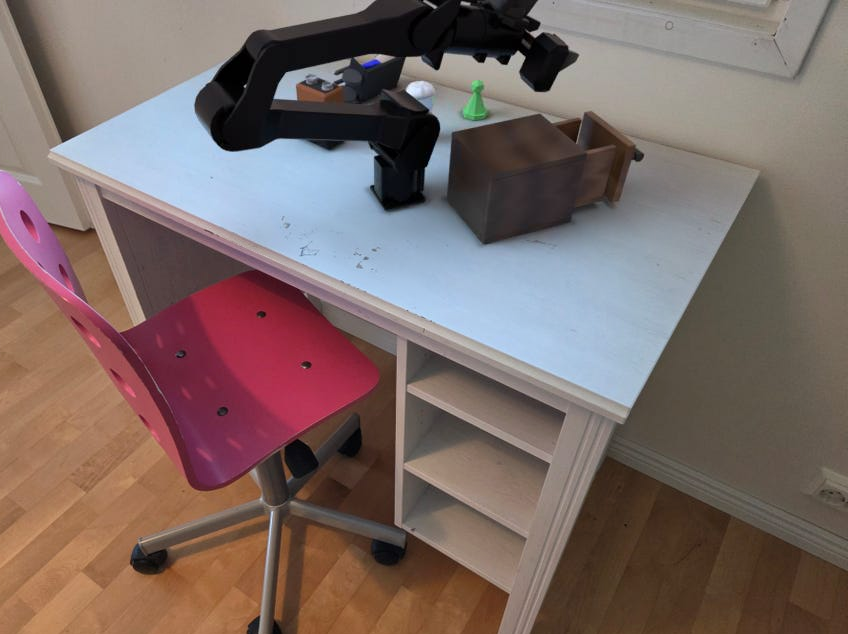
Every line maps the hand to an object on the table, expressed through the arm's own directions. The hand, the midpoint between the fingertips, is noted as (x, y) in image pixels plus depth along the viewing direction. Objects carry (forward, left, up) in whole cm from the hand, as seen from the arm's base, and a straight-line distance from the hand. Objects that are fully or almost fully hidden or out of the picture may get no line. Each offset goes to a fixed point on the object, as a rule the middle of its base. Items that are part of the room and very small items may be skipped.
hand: (557, 41), depth 92 cm
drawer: (-2, -13, -16) cm, 21 cm away
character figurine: (-17, +29, -17) cm, 38 cm away
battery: (-30, +17, -17) cm, 39 cm away
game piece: (-3, +15, -17) cm, 23 cm away
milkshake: (-15, +11, -17) cm, 25 cm away
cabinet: (-12, -13, -17) cm, 24 cm away
